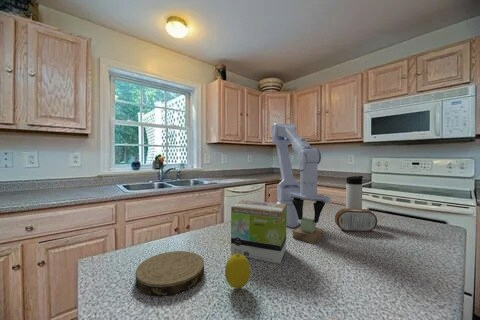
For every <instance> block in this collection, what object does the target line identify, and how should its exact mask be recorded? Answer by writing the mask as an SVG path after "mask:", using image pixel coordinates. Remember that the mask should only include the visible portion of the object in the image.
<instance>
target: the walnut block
mask: <svg viewBox="0 0 480 320" xmlns="http://www.w3.org/2000/svg"><path fill="white" fill-rule="evenodd" d="M323 237H324V229H321V228H317V227H316V230H315V231H314V232H313V233H310V232H305V231H301V225H299V226H298V227H296V228H295V229H294V230H292V239H294V240H298V241H302V242H306V243H310V244H314V245H316V244H317V243H318V242H319V241H320V240H321V239H322V238H323Z"/></svg>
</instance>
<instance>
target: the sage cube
mask: <svg viewBox="0 0 480 320" xmlns="http://www.w3.org/2000/svg"><path fill="white" fill-rule="evenodd" d="M300 221H301V224H300V226H301V231H305V232H310V233H313V232H314V231H315V230H316V228H317V223H315V222H314V217H307V216H303V218H302V219H301V220H300Z"/></svg>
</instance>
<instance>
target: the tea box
mask: <svg viewBox="0 0 480 320" xmlns="http://www.w3.org/2000/svg"><path fill="white" fill-rule="evenodd" d="M230 212H231V213H230V255H231V256H232V255H234V254H236V253H239V254H241V255H243V256H244V257H246V258H248V259H255V260H258V261H265V262H269V263H274V264H278V265H280V264H282V260H283V257H284V256H285V252H286V248H287V226H286V224H287V204H278V203H277V202H267V201H255V200H254V201H253V200H244V199H243V200H240V201H239V202H237V203H236V204H234V205H232V206H231V208H230Z"/></svg>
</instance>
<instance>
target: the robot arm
mask: <svg viewBox="0 0 480 320" xmlns="http://www.w3.org/2000/svg"><path fill="white" fill-rule="evenodd" d="M270 132H271V133H270V134H271V140H272V144H274V145H275V146H276V152H277V158H278V164H279V165H278V166H279V170H280V177H281V181H280V182H279V183H278V184H277V185H276V199H277V202H276V203H278V204H287V224H286V227H291V228H297V226H298V227H299V226H300V225H301V219H302V218H304V216H303V215H304V212H303V211H304V208H303V207H304V201H311V202H313V203H312V204H313V210H314V217H313V218H314V222H315V223H316V224H318V223H319V221H320V216H321V214H322V211H323V209H324V206H325V204H330V203H331V196H326V195H320V194H318V165H319V164H320V163H321V160H322V153H321V151H320V149H319V148H316V147H312V146H311V145H310V143H309V142H308V141H307V140H306V138H305V137H300V135H299V134H298V133H297V126H296V125H295V123H277V122H274V123H273V124H272V125H271V131H270ZM289 145H291V148H292V149H293V151H294V152H295V154H296V155H297V163H298V169H299V170H300V172H299V173H300V174H299V175H300V177H299V181H300V182H298V181H297V180H296V179H294V175H293V169H292V163H291V158H290V153H289V152H290V151H289V147H288V146H289Z"/></svg>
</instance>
